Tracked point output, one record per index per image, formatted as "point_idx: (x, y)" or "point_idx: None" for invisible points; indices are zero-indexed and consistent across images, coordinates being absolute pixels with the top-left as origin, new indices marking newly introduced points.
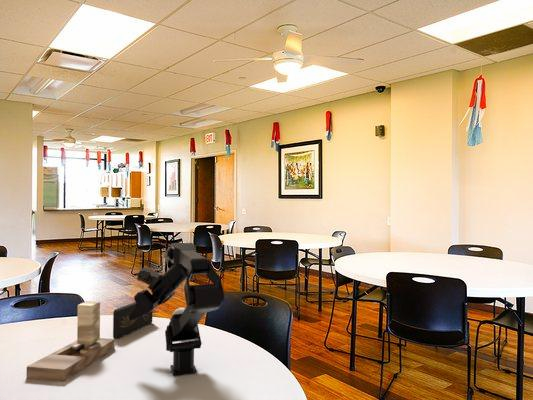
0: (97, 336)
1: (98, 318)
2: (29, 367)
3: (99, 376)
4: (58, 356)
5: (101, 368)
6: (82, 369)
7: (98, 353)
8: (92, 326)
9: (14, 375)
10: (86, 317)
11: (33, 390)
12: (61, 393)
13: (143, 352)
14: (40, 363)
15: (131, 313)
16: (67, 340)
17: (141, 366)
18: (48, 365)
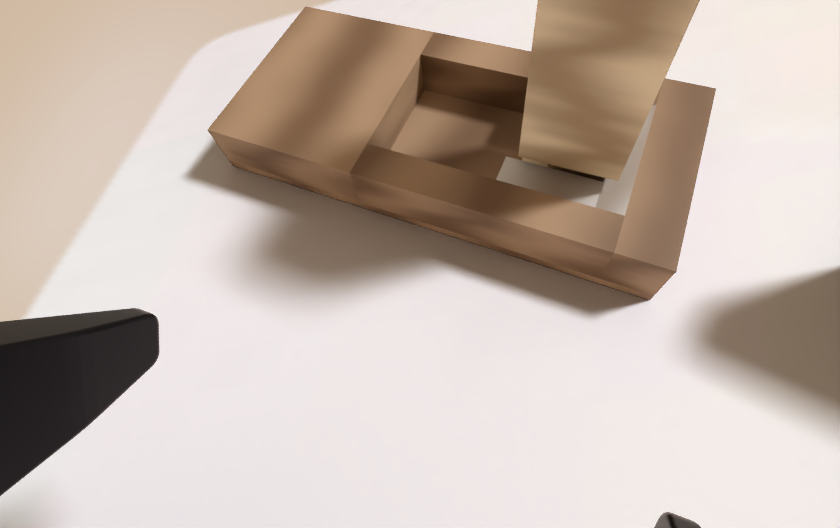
0: (595, 152)
1: (650, 41)
2: (300, 17)
3: (231, 289)
4: (391, 67)
5: (333, 280)
6: (341, 200)
7: (470, 224)
8: (546, 63)
9: (362, 11)
10: None
11: (200, 98)
12: (124, 184)
13: (564, 518)
14: (322, 34)
15: (6, 331)
16: (791, 46)
17: (287, 516)
18: (285, 64)
